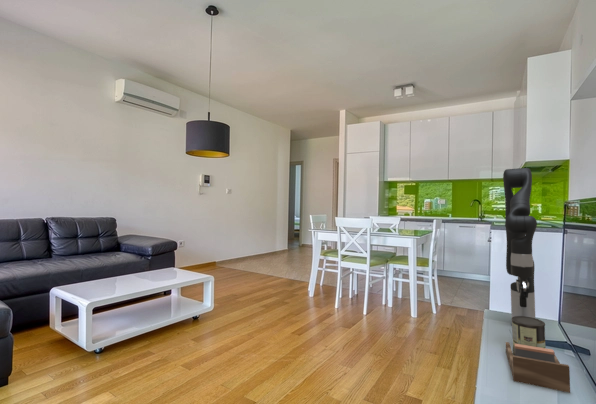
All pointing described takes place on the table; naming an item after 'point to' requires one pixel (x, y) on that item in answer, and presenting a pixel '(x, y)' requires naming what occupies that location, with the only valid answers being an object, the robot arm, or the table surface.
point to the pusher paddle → (534, 352)
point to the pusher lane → (539, 372)
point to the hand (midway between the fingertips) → (523, 306)
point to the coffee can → (528, 331)
